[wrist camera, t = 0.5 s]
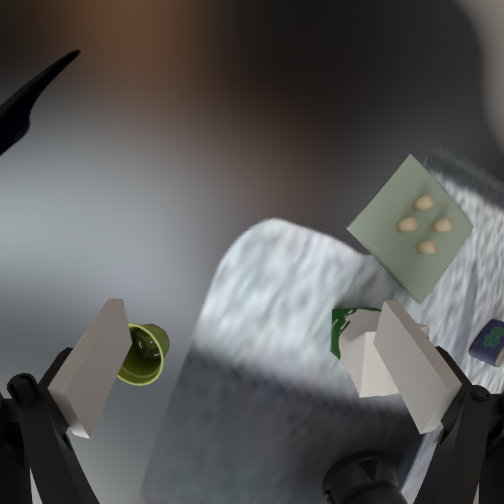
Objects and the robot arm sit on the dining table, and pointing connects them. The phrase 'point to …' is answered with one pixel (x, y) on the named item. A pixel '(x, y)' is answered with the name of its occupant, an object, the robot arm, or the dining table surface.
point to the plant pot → (144, 354)
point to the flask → (490, 344)
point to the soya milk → (362, 350)
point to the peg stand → (412, 228)
